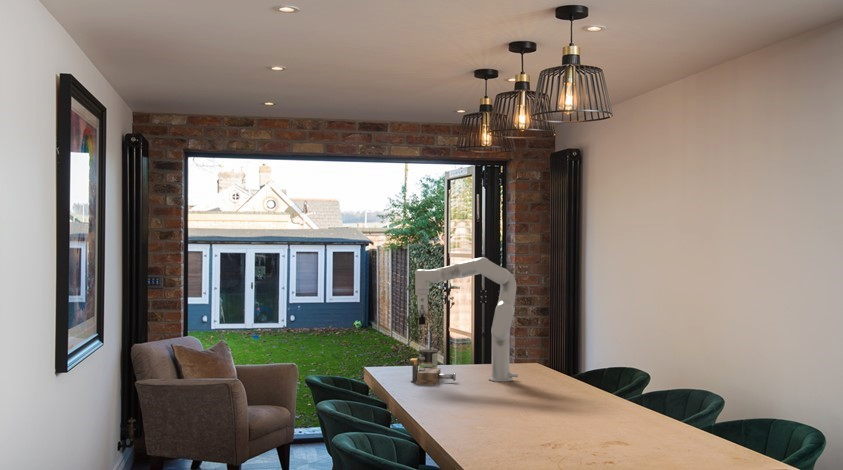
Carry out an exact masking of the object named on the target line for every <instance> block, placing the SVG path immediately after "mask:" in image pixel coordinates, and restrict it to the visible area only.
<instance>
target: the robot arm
mask: <svg viewBox="0 0 843 470" xmlns="http://www.w3.org/2000/svg"><path fill="white" fill-rule="evenodd" d="M414 273H415V277H414V278H415V280H414V281H415V282H414V284H415V288H414V289H415V293H414V294H415V295H416V296H417V310H418V311H417V312H418V314H419V316H418V322H419V323H418V324H419V325H420V326H421V325H422V326H423V325H424V326H425V325H426V314H428V310H429V309H428V304H429V303H428V296H429V295H430V283H431V284H439V283H441V282H445V281H451V280H454V279H455V280H456V279H463V278H467V277H473V276H476V275H482V276H484V277H486V278H487V279H489V280H491V281H492V282H494V283H496V284H498V285H500V288H499V297H498V301H497V305H496V307H495V309H494V314H493V320H492V325H491V330H490V331H491V333H490V334H491V376H489V377H488V380H489V381H491V382H500V383H505V382H512V381H513V378H519V373H512V372H511V371H510V348H511V347H510V343H511V342H510V340H511V339H510V337H511V336H510V335H511V332H510V330H511V326H512V322H513V317H514V316H513V315H514V307H515V302H516V301H515V300H516V294H517V281H516V279H515V277H514V275H513V274H512V273H511V272H510V271H509V270H508V269H507V268H505V267H502V266H500V265H498V264H496V263H494V262H492V261H491V260H489V259H488V258H487V257H485V256H484V257H483V256H482V257H477V258H473V259H469V260H464V261H460V262H457V263H455V264H452V265H448V266H444V267H438V268H433V269H424V268H422V269H420V268H419V269H416V270H415V272H414ZM425 313H426V314H425Z"/></svg>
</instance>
